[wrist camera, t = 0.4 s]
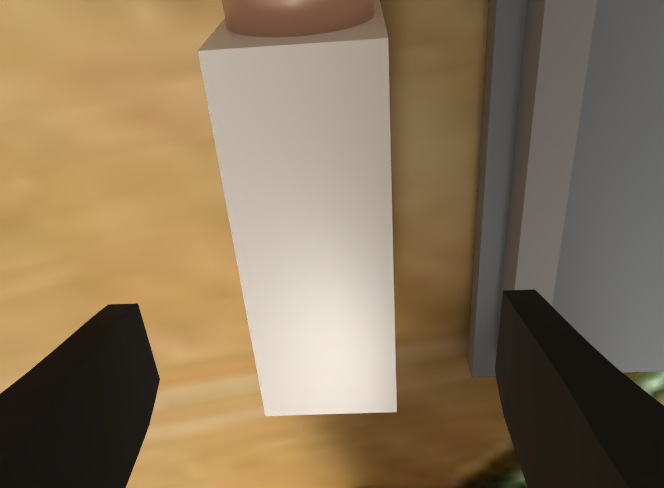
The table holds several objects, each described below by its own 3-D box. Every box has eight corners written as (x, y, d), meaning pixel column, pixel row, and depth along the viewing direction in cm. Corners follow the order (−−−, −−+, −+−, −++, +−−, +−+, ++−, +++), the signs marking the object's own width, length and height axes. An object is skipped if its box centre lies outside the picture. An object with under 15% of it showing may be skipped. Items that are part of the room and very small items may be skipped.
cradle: (736, 349, 23) (775, 398, 21) (467, 358, 24) (479, 407, 21) (922, -159, 14) (1019, -163, 12) (496, -124, 15) (520, -122, 13)
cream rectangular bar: (388, 309, 23) (396, 412, 18) (281, 313, 23) (265, 416, 19) (376, -88, 16) (385, -71, 12) (224, -76, 16) (178, -54, 12)
